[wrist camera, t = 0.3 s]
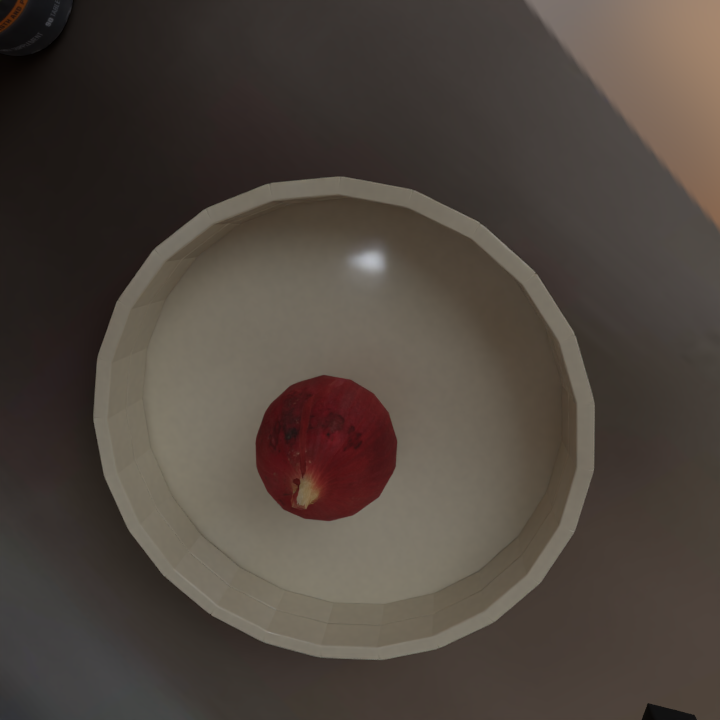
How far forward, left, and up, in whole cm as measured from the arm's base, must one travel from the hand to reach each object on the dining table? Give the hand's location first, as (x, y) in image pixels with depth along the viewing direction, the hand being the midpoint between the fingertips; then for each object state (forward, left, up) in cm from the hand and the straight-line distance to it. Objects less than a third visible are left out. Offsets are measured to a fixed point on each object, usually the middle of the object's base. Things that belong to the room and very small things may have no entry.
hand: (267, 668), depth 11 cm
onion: (+2, 0, -17) cm, 18 cm away
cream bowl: (+2, 0, -18) cm, 18 cm away
